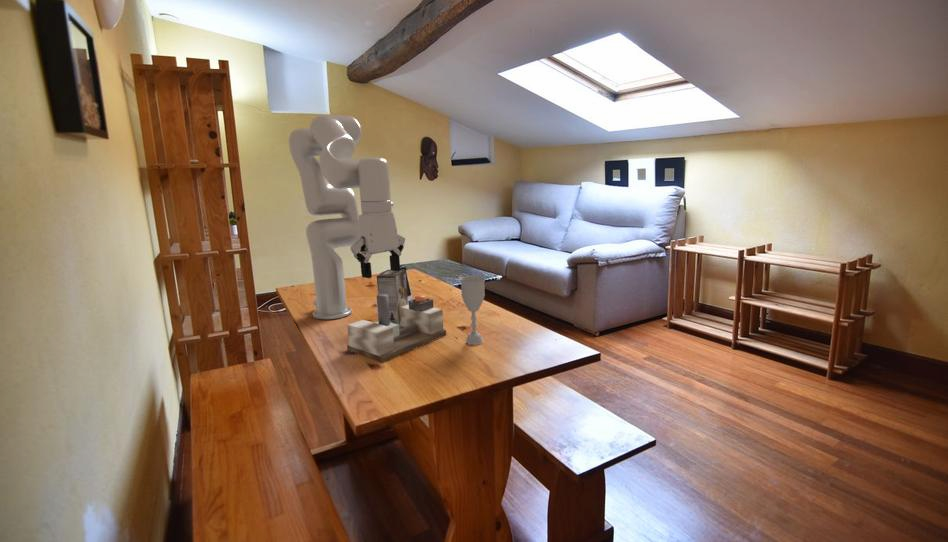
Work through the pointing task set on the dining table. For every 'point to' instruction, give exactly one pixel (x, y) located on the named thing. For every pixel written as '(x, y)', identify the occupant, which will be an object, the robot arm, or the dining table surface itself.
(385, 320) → the carriage
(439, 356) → the dining table surface
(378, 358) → the rail bed
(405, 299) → the coffee box
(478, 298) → the chalice
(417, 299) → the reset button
